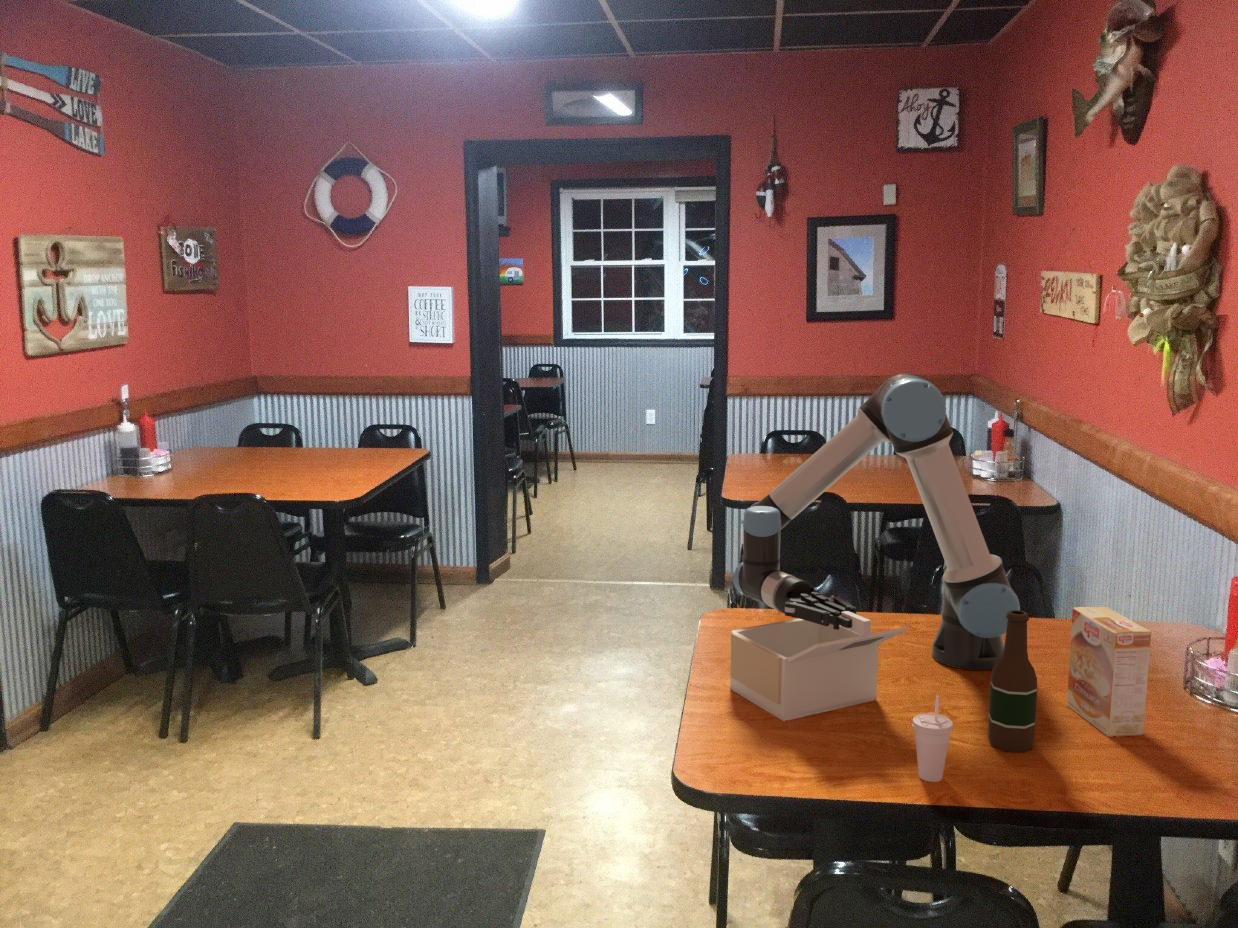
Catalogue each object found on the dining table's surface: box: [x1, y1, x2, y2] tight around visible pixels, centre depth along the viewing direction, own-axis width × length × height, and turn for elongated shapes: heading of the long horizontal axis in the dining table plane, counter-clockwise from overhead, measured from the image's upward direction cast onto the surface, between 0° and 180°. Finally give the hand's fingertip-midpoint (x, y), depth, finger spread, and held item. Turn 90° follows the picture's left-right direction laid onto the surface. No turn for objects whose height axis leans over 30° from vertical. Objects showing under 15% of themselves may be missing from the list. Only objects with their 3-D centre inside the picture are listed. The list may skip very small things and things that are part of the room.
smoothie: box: [911, 694, 954, 783], centre depth 174 cm, size 6×6×14 cm
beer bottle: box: [987, 609, 1038, 754], centre depth 185 cm, size 8×8×24 cm
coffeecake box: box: [1065, 606, 1152, 738], centre depth 196 cm, size 15×7×20 cm, turn 5°
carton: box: [729, 618, 879, 722], centre depth 210 cm, size 19×23×12 cm
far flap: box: [787, 626, 910, 662], centre depth 196 cm, size 10×21×1 cm
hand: (867, 628), depth 191 cm, fingers closed
